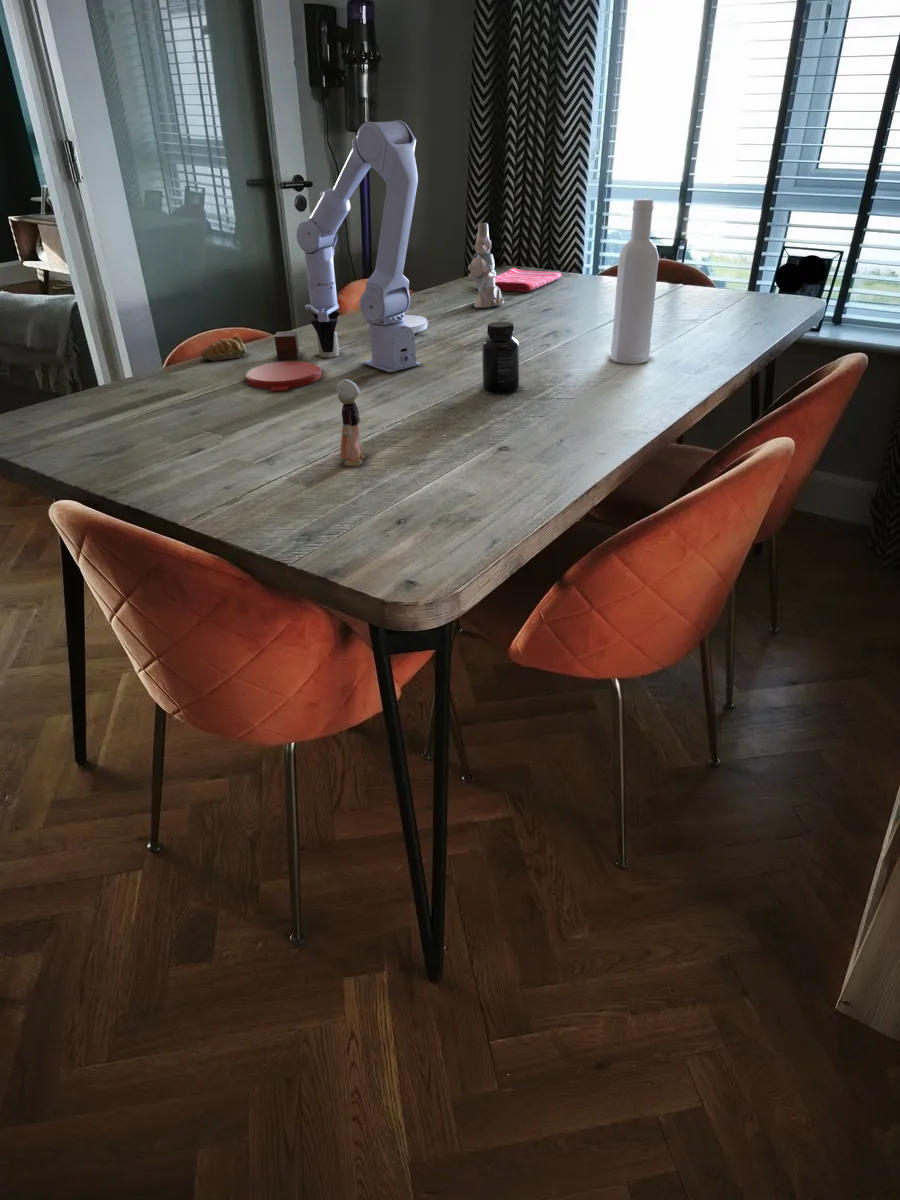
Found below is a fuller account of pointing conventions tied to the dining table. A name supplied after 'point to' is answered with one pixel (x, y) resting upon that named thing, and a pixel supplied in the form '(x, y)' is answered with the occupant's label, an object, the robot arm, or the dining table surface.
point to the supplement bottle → (500, 359)
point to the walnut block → (287, 345)
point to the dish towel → (524, 279)
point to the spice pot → (335, 349)
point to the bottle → (635, 290)
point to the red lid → (283, 375)
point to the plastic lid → (415, 323)
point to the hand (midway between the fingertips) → (328, 348)
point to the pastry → (225, 349)
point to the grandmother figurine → (350, 424)
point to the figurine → (484, 271)
